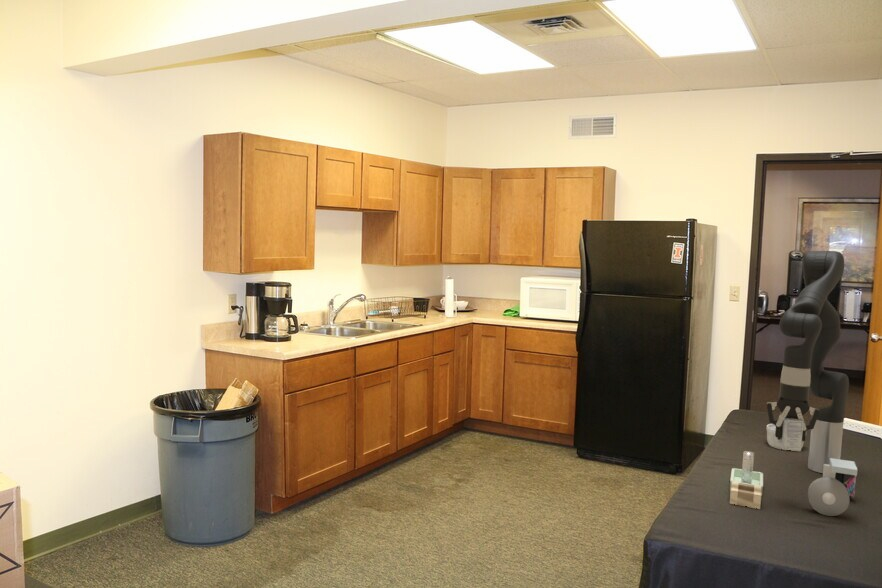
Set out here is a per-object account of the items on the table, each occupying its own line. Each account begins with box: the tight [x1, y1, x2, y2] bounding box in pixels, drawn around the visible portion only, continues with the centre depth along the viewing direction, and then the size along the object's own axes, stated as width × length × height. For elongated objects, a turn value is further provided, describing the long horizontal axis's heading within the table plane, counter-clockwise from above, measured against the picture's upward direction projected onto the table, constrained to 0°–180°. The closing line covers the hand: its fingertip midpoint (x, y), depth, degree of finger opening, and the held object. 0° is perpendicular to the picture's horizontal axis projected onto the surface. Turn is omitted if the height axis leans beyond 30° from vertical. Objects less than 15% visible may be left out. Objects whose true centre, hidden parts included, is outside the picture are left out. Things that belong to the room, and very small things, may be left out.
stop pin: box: [741, 450, 755, 484], centre depth 218 cm, size 3×3×10 cm
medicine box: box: [778, 417, 803, 452], centre depth 204 cm, size 8×4×9 cm, turn 168°
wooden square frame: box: [729, 482, 762, 510], centre depth 205 cm, size 8×8×4 cm
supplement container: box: [835, 463, 858, 502], centre depth 211 cm, size 7×7×10 cm
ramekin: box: [766, 423, 805, 451], centre depth 262 cm, size 13×13×7 cm
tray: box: [729, 467, 764, 498], centre depth 218 cm, size 14×9×3 cm, turn 156°
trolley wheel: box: [807, 458, 858, 517], centre depth 198 cm, size 8×11×15 cm
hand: (789, 440), depth 204 cm, fingers closed on medicine box, 5 cm apart
